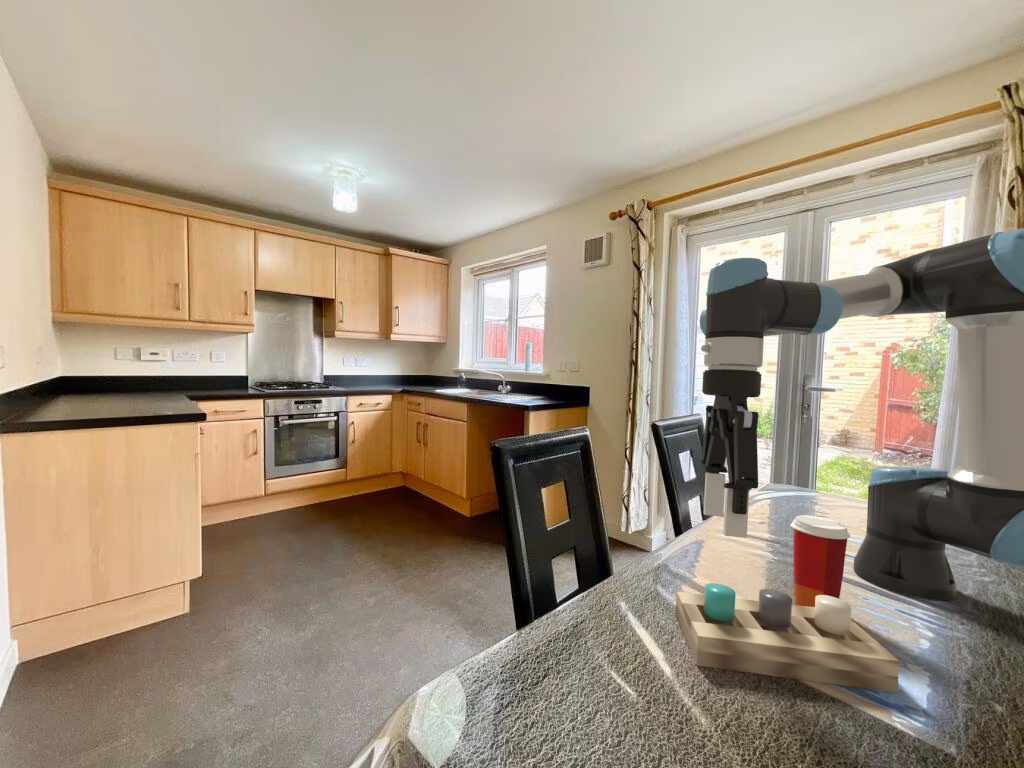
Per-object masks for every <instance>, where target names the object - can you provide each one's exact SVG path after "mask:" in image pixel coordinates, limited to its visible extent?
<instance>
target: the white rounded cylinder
mask: <svg viewBox="0 0 1024 768" xmlns="http://www.w3.org/2000/svg"><path fill="white" fill-rule="evenodd" d="M851 613H852V605H850V604H849V602H847V601H845V600H843V599H840V598H839V599H838V598H835V597H832V596H827V595H817V596H816V597H815V614H814V623H815V624H816V625H817V626H818V627H819V628H821V629H823V630H825V631H827V632H829V633H832V634H836V635H848V634H849V633H850V619H851V616H852V615H851Z"/></svg>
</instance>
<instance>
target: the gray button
mask: <svg viewBox="0 0 1024 768" xmlns="http://www.w3.org/2000/svg"><path fill="white" fill-rule="evenodd" d="M758 592H759V593H758V595H759V596H758V601H759V608H758V617H759V619H760V620H762V621H763V622H764V623H766V624H768V625H771V626H774V627H778V628H789V627H790V626H791V612H792V605H793V598H792V597H791V596H790V595H788V594H786V593H784V592H781V591H780V590H775V589H772V588H771V589H770V588H762V589H759V591H758Z"/></svg>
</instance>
